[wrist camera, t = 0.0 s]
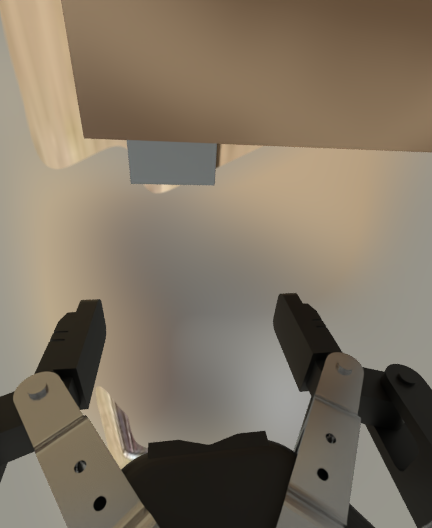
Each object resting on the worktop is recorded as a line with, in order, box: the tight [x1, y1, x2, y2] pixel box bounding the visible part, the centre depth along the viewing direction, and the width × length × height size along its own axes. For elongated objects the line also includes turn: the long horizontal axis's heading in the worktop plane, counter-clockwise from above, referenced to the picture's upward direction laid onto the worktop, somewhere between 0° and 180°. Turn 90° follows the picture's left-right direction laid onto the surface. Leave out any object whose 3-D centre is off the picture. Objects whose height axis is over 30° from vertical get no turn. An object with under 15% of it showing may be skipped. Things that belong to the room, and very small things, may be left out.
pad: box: [127, 140, 217, 185], centre depth 37 cm, size 7×11×1 cm, turn 86°
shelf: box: [61, 0, 432, 152], centre depth 20 cm, size 11×15×28 cm
